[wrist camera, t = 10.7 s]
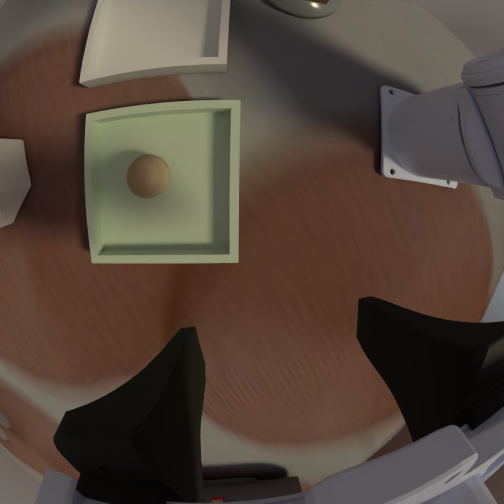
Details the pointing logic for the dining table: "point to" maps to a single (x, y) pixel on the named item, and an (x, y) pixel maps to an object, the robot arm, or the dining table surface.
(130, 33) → the grey box
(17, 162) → the jar
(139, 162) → the cork ball
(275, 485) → the bluetooth speaker
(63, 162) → the dining table surface
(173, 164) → the green box
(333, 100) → the dining table surface
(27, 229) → the dining table surface
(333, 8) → the slate coaster
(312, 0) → the walnut block
